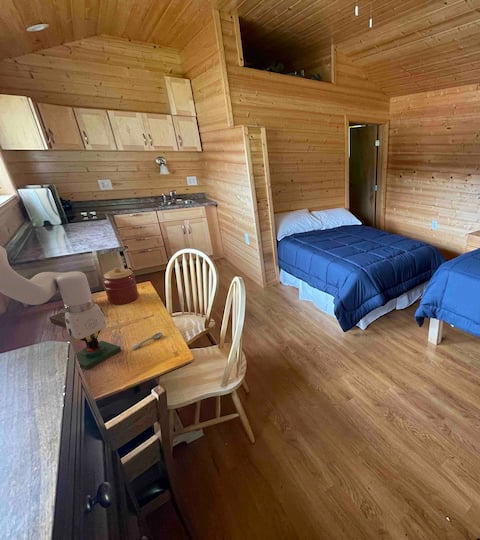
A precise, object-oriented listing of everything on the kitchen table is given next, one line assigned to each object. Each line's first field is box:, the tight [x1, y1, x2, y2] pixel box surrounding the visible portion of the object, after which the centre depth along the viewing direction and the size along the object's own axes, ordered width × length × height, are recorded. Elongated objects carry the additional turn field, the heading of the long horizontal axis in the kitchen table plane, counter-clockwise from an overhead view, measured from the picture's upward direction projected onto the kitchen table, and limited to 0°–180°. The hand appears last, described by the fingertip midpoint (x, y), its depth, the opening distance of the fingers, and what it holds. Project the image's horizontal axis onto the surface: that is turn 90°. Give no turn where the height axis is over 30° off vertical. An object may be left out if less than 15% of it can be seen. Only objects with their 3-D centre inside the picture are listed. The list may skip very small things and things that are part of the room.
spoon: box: [130, 332, 163, 351], centre depth 125 cm, size 3×12×2 cm, turn 153°
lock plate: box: [48, 307, 104, 329], centre depth 136 cm, size 14×11×3 cm
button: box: [87, 345, 100, 352], centre depth 114 cm, size 4×4×2 cm
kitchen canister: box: [102, 266, 140, 305], centre depth 152 cm, size 13×13×18 cm
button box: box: [75, 340, 122, 371], centre depth 114 cm, size 12×10×4 cm
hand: (93, 347), depth 113 cm, fingers closed
